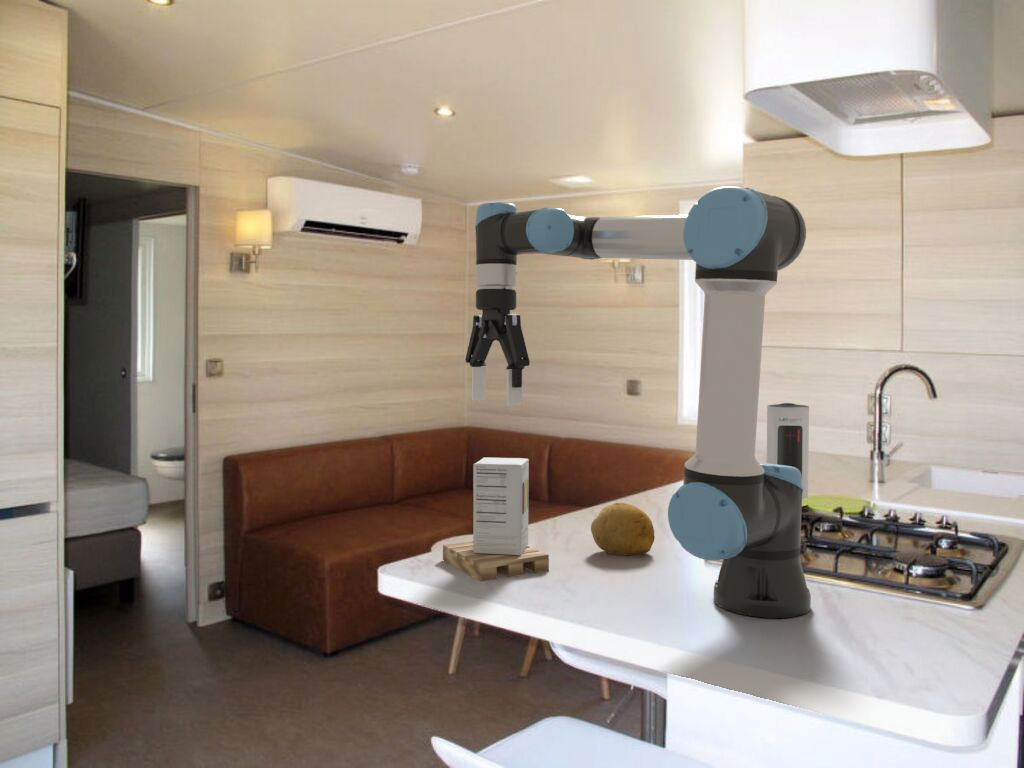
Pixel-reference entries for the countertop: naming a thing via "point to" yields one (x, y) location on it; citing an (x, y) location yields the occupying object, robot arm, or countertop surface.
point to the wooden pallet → (493, 561)
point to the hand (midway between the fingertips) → (495, 403)
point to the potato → (623, 530)
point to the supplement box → (500, 505)
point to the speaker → (789, 438)
